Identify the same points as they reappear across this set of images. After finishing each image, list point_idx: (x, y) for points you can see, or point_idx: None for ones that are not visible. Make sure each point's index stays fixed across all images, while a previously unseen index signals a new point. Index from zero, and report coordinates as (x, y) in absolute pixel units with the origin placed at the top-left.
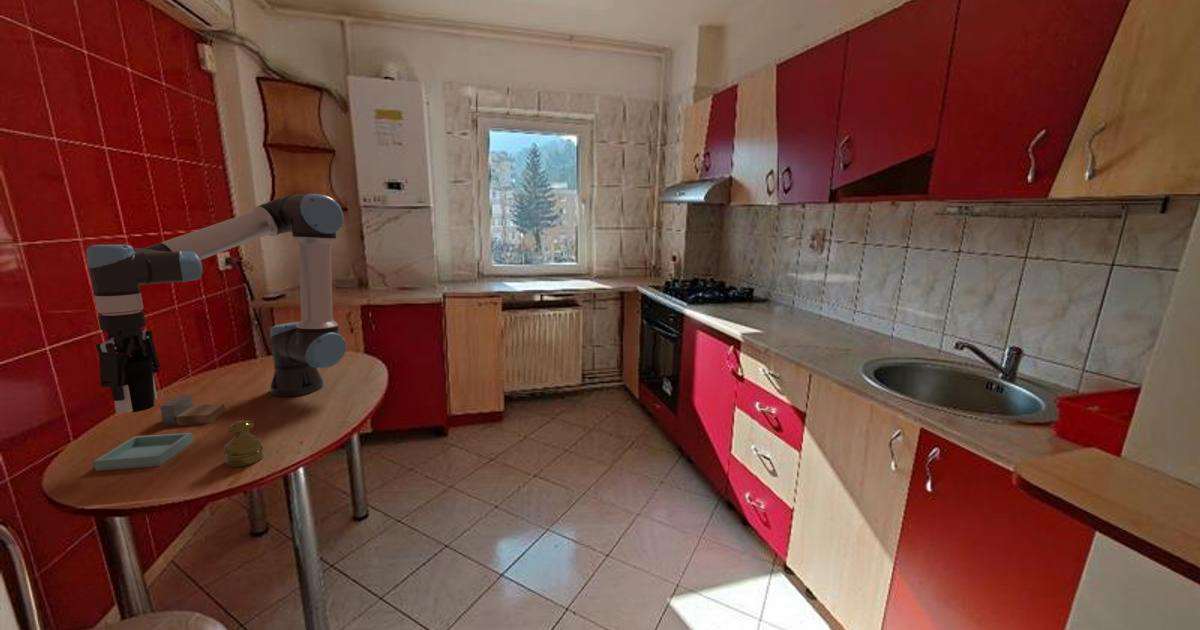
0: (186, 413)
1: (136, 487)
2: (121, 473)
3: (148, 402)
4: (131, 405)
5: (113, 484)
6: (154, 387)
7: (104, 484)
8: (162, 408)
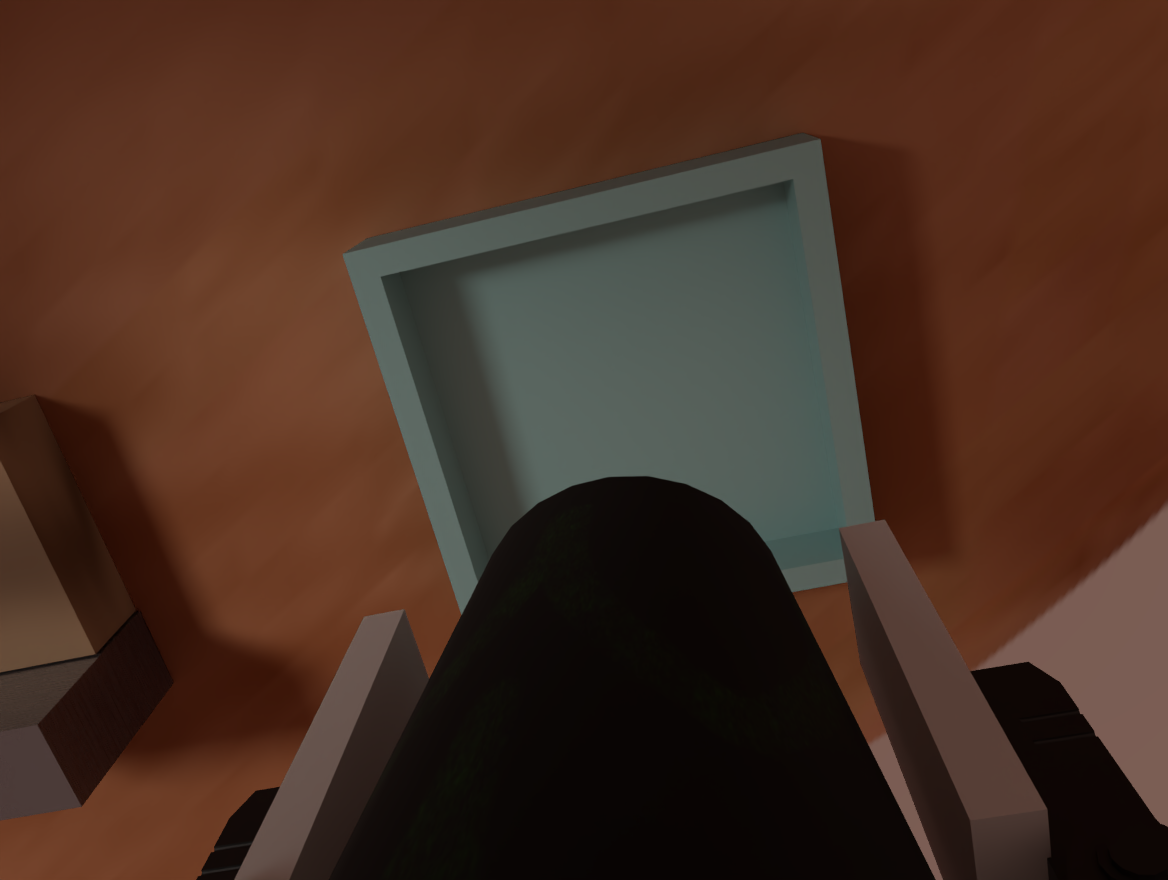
0: (20, 622)
1: (1163, 3)
2: (910, 333)
3: (652, 506)
4: (862, 574)
5: (1081, 239)
6: (337, 722)
7: (1072, 305)
8: (89, 777)
